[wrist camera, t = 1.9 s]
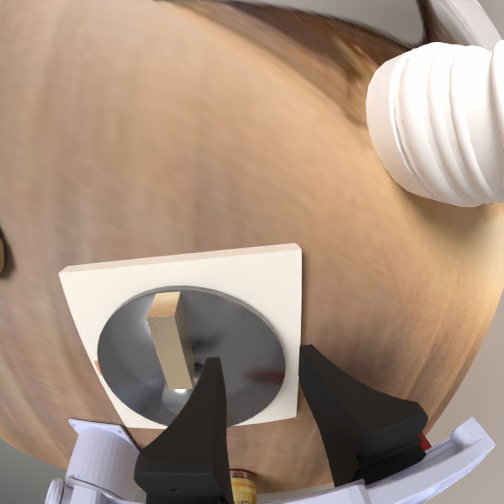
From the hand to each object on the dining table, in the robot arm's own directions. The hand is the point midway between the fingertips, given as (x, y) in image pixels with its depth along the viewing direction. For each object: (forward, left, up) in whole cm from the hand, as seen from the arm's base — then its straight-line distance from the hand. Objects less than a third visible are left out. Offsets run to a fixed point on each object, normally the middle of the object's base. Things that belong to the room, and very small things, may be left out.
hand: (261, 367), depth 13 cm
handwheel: (-6, +5, -6) cm, 10 cm away
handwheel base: (-6, +5, -8) cm, 11 cm away
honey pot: (+13, -16, -9) cm, 23 cm away
